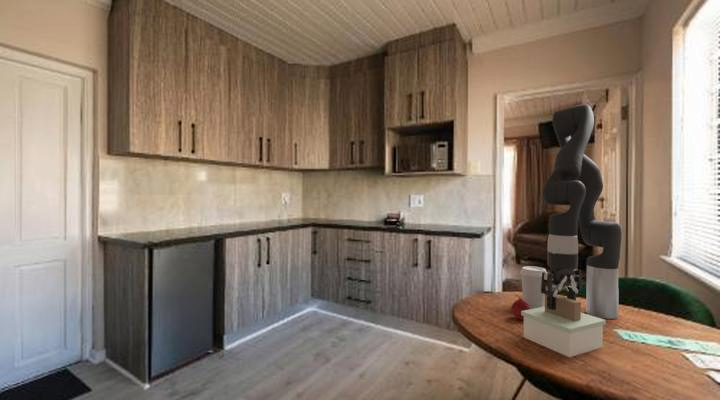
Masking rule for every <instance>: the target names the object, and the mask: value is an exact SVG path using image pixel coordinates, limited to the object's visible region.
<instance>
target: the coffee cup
mask: <svg viewBox="0 0 720 400" xmlns="http://www.w3.org/2000/svg"><path fill="white" fill-rule="evenodd" d="M543 272H545V273H548V272H547V270H546V268H544V267H541V266H540V267H539V266H535V265H533V266H532V265H530V266H529V265H527V266H522V268H521V269H520V271H519V274H520V276H521V278H520V279H521V286H522V298H523V300H524V301H526V302H527V303H528V305H529V306H530V309H534V308H539V307H544V306H545V294H542V293H541V282H542V273H543Z"/></svg>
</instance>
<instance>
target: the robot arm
mask: <svg viewBox="0 0 720 400" xmlns="http://www.w3.org/2000/svg"><path fill="white" fill-rule="evenodd" d="M594 124H595V116H594V112H593V109H592V107H591V106H590V105H589V104H585V103H584V104H578V105H575V106H571V107H567V108H564V109H559V110H556V111H555V112H554V113H553V114H552V125H553V129H554V133H555V136H556V138H557V141H558V144H559V147H560V149H559V151H558V152H557V154H556V156H555V157H556V158H555V161H554V165H553V170H552V172H551V174H550V176H549V177H548V179H547V180H546V182H545V184H544V185H543V187H542V190H541V191H542V193H541V196H542V197H541V198H542V199H543V201H544V202H545V203H546V204H547V205H550V206H569V208H568V210H567V211H565V212H559V213H553V214H551V215H550V216H549V218H548V219H549V220H548V237H547V238H548V239H547V259H546V261H547V263H546V264H547V266H548V267H549V268H550V271H549V272H547V273H545V272H543V273H542V282H541V293H542V294H546V295H547V308H548V309H550V310H556V297H555V296H556V295H558V292H559V291H561V290H562V288H564V287H565V289H566V298H569V299H572V300H576V301H577V294H578V293H579V291H582V289H583V271H582V270H581V269H578V268H579V240H578V225H579V228H580V234H581V237H582V240H583V242H584V243H585V244H586V245H587V246H591V247H597V248H602V252H601V253H598V254H597V255H590V256H588V257H587V259H586V290H585V291H586V296H585V297H586V299H585V300H586V301H585V303H586V305H585V312H586V313H585V314H588V315H591V316H594V317H597V318H601V319H605V320H606V319H607V320H608V319H609V320H614V319H618V317H619V299H620V298H619V297H620V295H619V293H620V292H619V291H620V290H619V264H620V260H621V248H622V246H621V245H622V238H623V237H622V228H621V226H620V224H619V223H617V222H616V221H605V220H604V221H603V220H596V217H595V216H596V215H595V211H594V210H595V206H596V205H597V203H598V200H599V198H600V197H601V194H602V192H603V189H604V182H603V179H602V173H601V169H600V167H599V166H598V164H596V162H594V161H593V160H592V159H591V158H590V157H588V156H587V155H586V154H585V151H586V148H587V145H588V143H589V141H590V139H591V136H592V132H593V131H594V130H593V129H594ZM578 221H579V222H578ZM578 223H579V224H578ZM576 282H577V283H576Z"/></svg>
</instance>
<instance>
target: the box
mask: <svg viewBox="0 0 720 400" xmlns="http://www.w3.org/2000/svg"><path fill="white" fill-rule="evenodd" d="M603 327H604V325H602V326H598V327H594V328H590V329H587V330H583V331H579V332H575V333H571V334H570V333H567V332H565V331H562V330H559V329H557V328H554V327H551V326H549V325H546V324H543V323H541V322H538V321H535V320H533V319H530V318H527V317H525V316H524V320H523V338H525V339H527V340H529V341H532V342H533V343H536V344H538V345H541V346H543V347H545V348H548V349H550V350H551V351H554V352H556V353H559V354H561V355H563V356H565V357H568V358H572V357H577V356H578V355H582V354H586V353H589V352H591V351H596V350H598V349H602V348H603V339H604V338H603V335H604V333H603V332H604V331H603V330H604V329H603Z"/></svg>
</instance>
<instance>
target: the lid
mask: <svg viewBox="0 0 720 400" xmlns="http://www.w3.org/2000/svg"><path fill="white" fill-rule="evenodd" d="M555 297H556V310H550V309H548V308H547V295H546V294H545V297H544V306H543V307H539V308H534V309H529V310H524V311H521V315H522V316H525V317H527V318H530V319H533V320H535V321H538V322H541V323H543V324H546V325H549V326H551V327H554V328H557V329H559V330H562V331H565V332H567V333H570V334H571V333H575V332H579V331H583V330H587V329H590V328H594V327H598V326H602V325H603V326H605V325H607V320H606V319H605V318H599V317H595V316H592V315H589V314H588V313H584V312H582V310H581V309H582V307H581V306H582V304H581V303H582V302H581V301H579V300H577V299H576V300H572V299H569V298H567V297H565V296H561V295H558V294H557V295H556V296H555Z"/></svg>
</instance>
